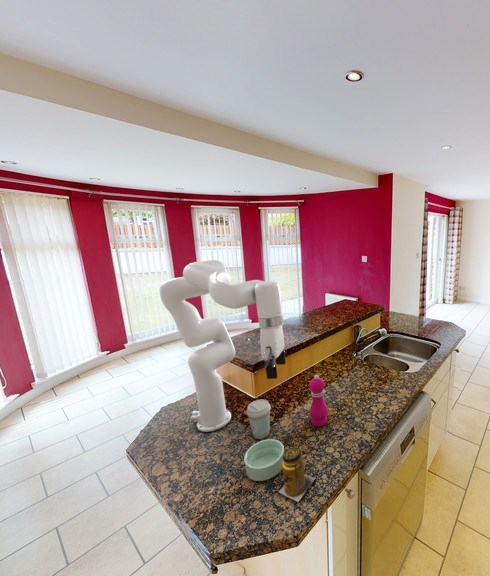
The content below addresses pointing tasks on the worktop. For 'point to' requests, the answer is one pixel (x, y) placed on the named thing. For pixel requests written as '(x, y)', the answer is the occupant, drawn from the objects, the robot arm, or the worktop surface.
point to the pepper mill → (318, 402)
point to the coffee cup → (259, 418)
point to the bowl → (264, 459)
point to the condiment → (294, 474)
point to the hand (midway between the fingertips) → (276, 370)
